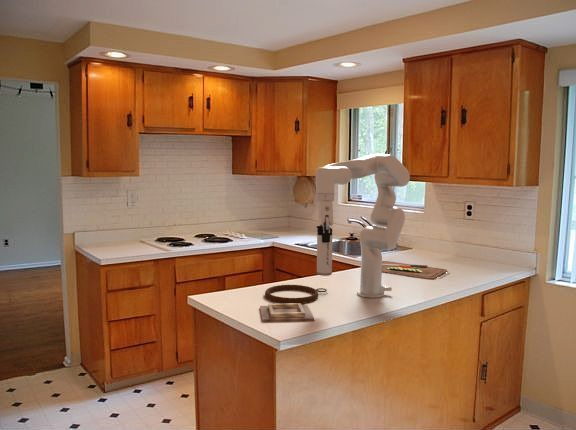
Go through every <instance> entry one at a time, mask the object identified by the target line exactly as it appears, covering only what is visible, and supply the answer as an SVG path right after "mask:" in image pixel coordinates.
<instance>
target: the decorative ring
mask: <svg viewBox="0 0 576 430" xmlns="http://www.w3.org/2000/svg"><path fill="white" fill-rule="evenodd" d="M281 291H296V292H297V291H298V292H305V291H306V293H309V292H310V293H309V294H311V293H312V294H311V295H310V296H303V297H283V296H277V295H274V294H273V295H272V293H275V292H281ZM327 291H328V289H327V288H323V287H322V288H321V287H320V288H314V287H311V286H307V285H302V284H281V285H273V286H271V287H268V288H267V289H265V291H264V297H265V298H266V299H267V300H268V301H270V302H273V303H276V304H284V303H301V305H304V304H308V303H311V302H314V301H317V300H318V298H319V296H325V295H328V292H327ZM325 292H326V293H325ZM320 293H323V294H320ZM313 294H314V295H313Z"/></svg>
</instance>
